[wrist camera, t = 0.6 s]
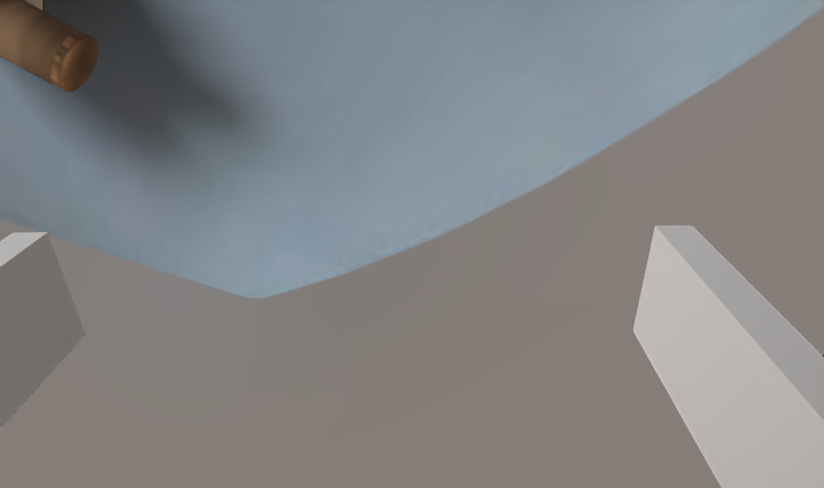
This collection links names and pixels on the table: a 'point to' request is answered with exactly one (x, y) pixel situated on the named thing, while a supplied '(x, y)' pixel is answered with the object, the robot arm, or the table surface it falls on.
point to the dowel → (45, 45)
